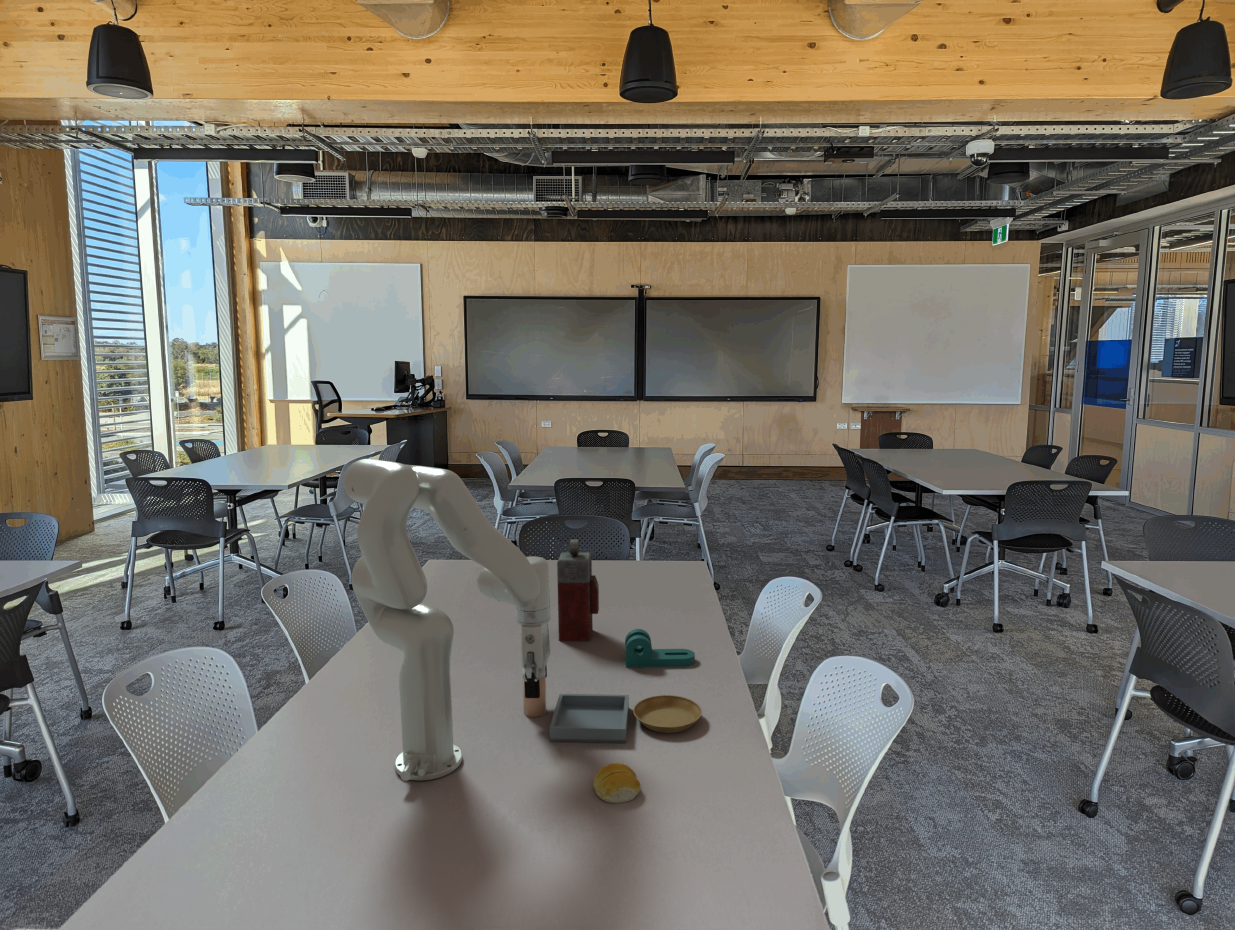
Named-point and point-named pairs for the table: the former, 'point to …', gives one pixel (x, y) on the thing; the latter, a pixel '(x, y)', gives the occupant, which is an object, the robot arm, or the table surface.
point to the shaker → (535, 705)
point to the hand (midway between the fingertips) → (536, 687)
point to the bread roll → (616, 783)
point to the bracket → (653, 653)
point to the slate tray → (590, 718)
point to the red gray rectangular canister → (576, 594)
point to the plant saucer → (667, 713)
